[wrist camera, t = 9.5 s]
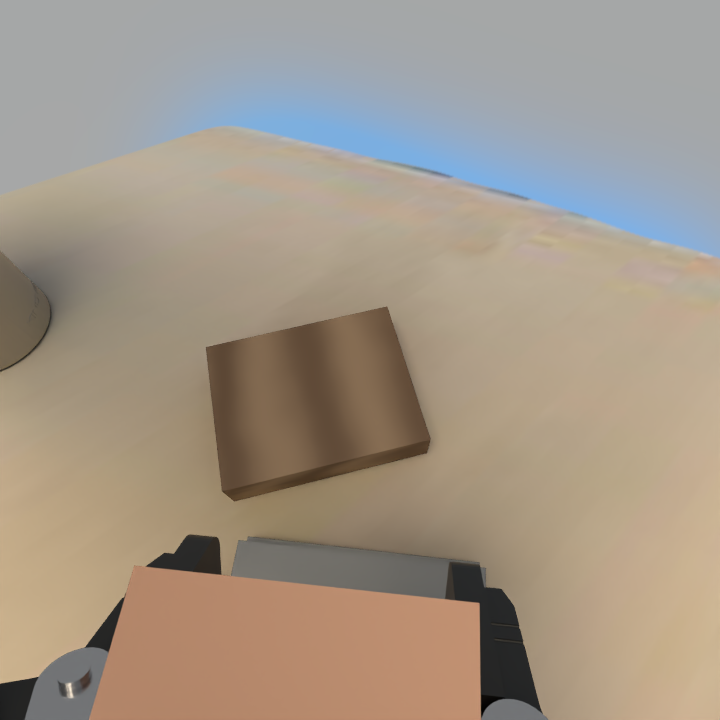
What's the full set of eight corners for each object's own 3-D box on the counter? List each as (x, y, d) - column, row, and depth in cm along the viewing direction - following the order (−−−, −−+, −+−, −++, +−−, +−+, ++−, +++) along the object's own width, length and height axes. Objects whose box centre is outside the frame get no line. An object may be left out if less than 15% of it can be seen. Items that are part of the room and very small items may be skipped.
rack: (211, 739, 28) (193, 752, 26) (251, 538, 33) (240, 531, 31) (476, 779, 27) (487, 796, 24) (476, 564, 32) (485, 559, 29)
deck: (234, 501, 35) (222, 491, 32) (217, 365, 40) (205, 347, 37) (426, 452, 36) (430, 439, 33) (386, 326, 41) (387, 306, 38)
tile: (228, 686, 15) (83, 741, 8) (246, 593, 16) (133, 565, 9) (433, 713, 14) (481, 798, 7) (436, 614, 15) (479, 603, 8)
